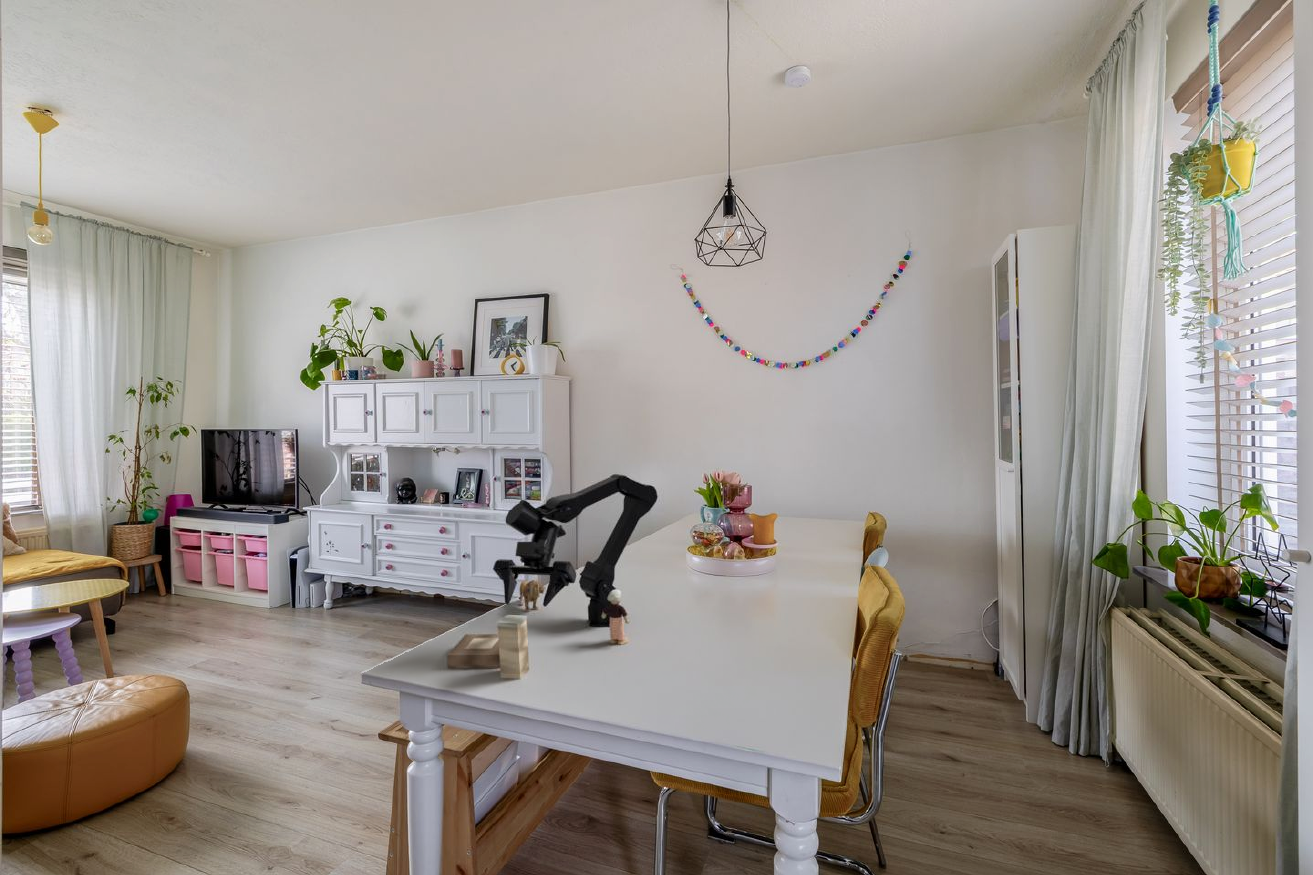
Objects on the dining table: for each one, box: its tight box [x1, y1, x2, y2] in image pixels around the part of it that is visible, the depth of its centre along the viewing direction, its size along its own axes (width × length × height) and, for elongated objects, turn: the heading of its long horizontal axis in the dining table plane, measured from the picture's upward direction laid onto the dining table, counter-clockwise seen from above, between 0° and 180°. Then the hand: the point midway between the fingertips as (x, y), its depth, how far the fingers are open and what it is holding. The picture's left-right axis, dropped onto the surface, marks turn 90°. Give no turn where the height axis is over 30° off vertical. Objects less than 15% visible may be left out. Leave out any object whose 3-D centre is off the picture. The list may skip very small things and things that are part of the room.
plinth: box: [446, 633, 500, 669], centre depth 151 cm, size 12×12×3 cm
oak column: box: [496, 614, 530, 680], centre depth 141 cm, size 5×5×12 cm
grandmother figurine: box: [601, 588, 630, 646], centre depth 157 cm, size 8×4×13 cm, turn 71°
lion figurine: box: [518, 579, 547, 613], centre depth 185 cm, size 15×5×9 cm, turn 34°
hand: (525, 604), depth 148 cm, fingers open, 9 cm apart
